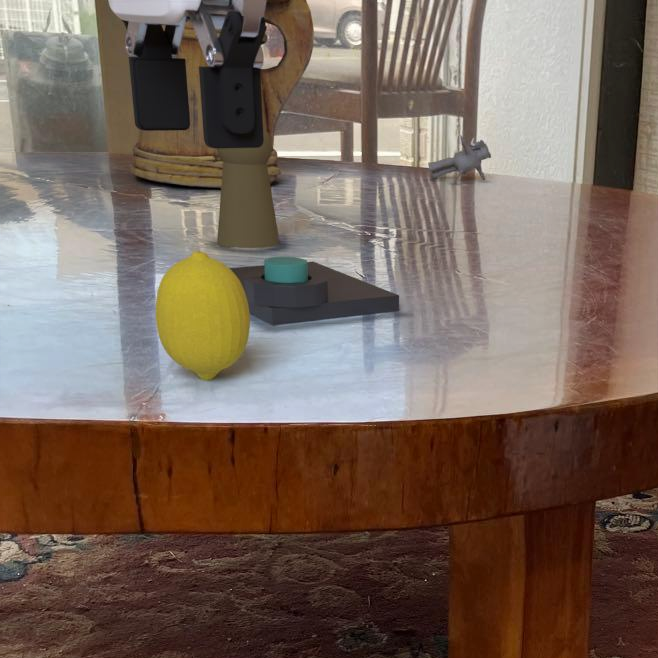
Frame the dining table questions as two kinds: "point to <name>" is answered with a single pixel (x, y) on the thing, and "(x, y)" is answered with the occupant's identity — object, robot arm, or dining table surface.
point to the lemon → (202, 315)
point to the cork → (247, 198)
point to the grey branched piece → (462, 160)
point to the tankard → (188, 145)
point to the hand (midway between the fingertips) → (197, 138)
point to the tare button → (286, 269)
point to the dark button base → (312, 296)
